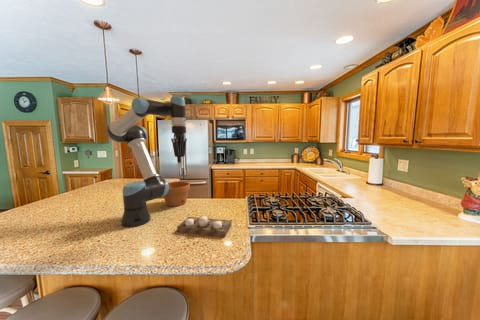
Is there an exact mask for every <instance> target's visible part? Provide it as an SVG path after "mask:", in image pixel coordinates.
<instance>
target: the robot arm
mask: <svg viewBox="0 0 480 320" xmlns="http://www.w3.org/2000/svg"><path fill="white" fill-rule="evenodd" d="M130 104H131V105H130V106H131V107H130V108H129V109H128V110H127V111H126V112H125V113H123V114H122V115H121V116H120V117H119V118H118V119H117V120H115V121H111V122H110V123H109V124H108V125H107V128H106V133H107V136H108V137H109V139H111V140H112V141H114V142H117V143H126V144H127V146H128V147H129V148H131V150H132V152H133V154H134V157H135V160H136V162H137V166H138V168H139V170H140V173H141V175H142V176H141V177H143V179H142V180H136V181H132V182H129V183H126V184H125V185H124V186H123V187H122V199H123V200H122V201H123V214H122V219H121V221H120V223H121V226H122V227H125V228H133V227H138V226H142V225H145V224H148V222H150V221H151V214H150V212H149V210H148V208H147V202H150V201H153V200H157V199H161V198H164V196H165V195H166V194H167V193H168V190H169V185H168V183H169V182H168V180H167V179H166V178H163V177H162V176H161V175H160V174H158V173H157V170H156V168H155V164H154V162H153V160H152V158H151V156H150V152H149V150H148V148H147V145H146V143H147V140H148V133H147V130H146V128H145V127H143V126H141V125H137V123H139V122H141V120H144V118H146V117H147V116H149V115H153V116H159V117H161V118H163V117H164V118H166V117H167V118H168V117H171V118H170V119H171V121H170V122H171V133H172V134H173V138H171V139H170V141H171V143H172V149H173V153H174V157H176V158H177V160H176V161H177V169H184V157H185V156H186V148H187V138H185V134H186V133H187V127H186V124H187V123H186V122H187V119H186V99H185V98H184V97H183V96H175V95H174V96H171V97H170V100H169V102H164V101H163V102H162V101H157V100H151V99H148V98H143V97H142V98H141V97H135V98H133V99H132V101H131V103H130Z"/></svg>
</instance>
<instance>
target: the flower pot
mask: <svg viewBox="0 0 480 320" xmlns="http://www.w3.org/2000/svg"><path fill="white" fill-rule="evenodd" d="M168 185H169V190H168V193H167V194H166V195H165V196H163V198H164V202H165V204H166V206H167V207H179V206H183V205H185V204H186V203H187V199H188V195H189V191H190V189H191V184H190V182H188V181H170V182H168Z"/></svg>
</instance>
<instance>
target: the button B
mask: <svg viewBox="0 0 480 320" xmlns="http://www.w3.org/2000/svg"><path fill="white" fill-rule="evenodd" d="M198 218H199V226H200V227H206V226H207V225H208V220H207V218H208V216H205V215H203V216H200V217H198Z"/></svg>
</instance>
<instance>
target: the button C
mask: <svg viewBox="0 0 480 320" xmlns="http://www.w3.org/2000/svg"><path fill="white" fill-rule="evenodd" d="M213 226H214V229H220V230H221V229H222V222H221V221H215V222H214V223H213Z"/></svg>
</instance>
